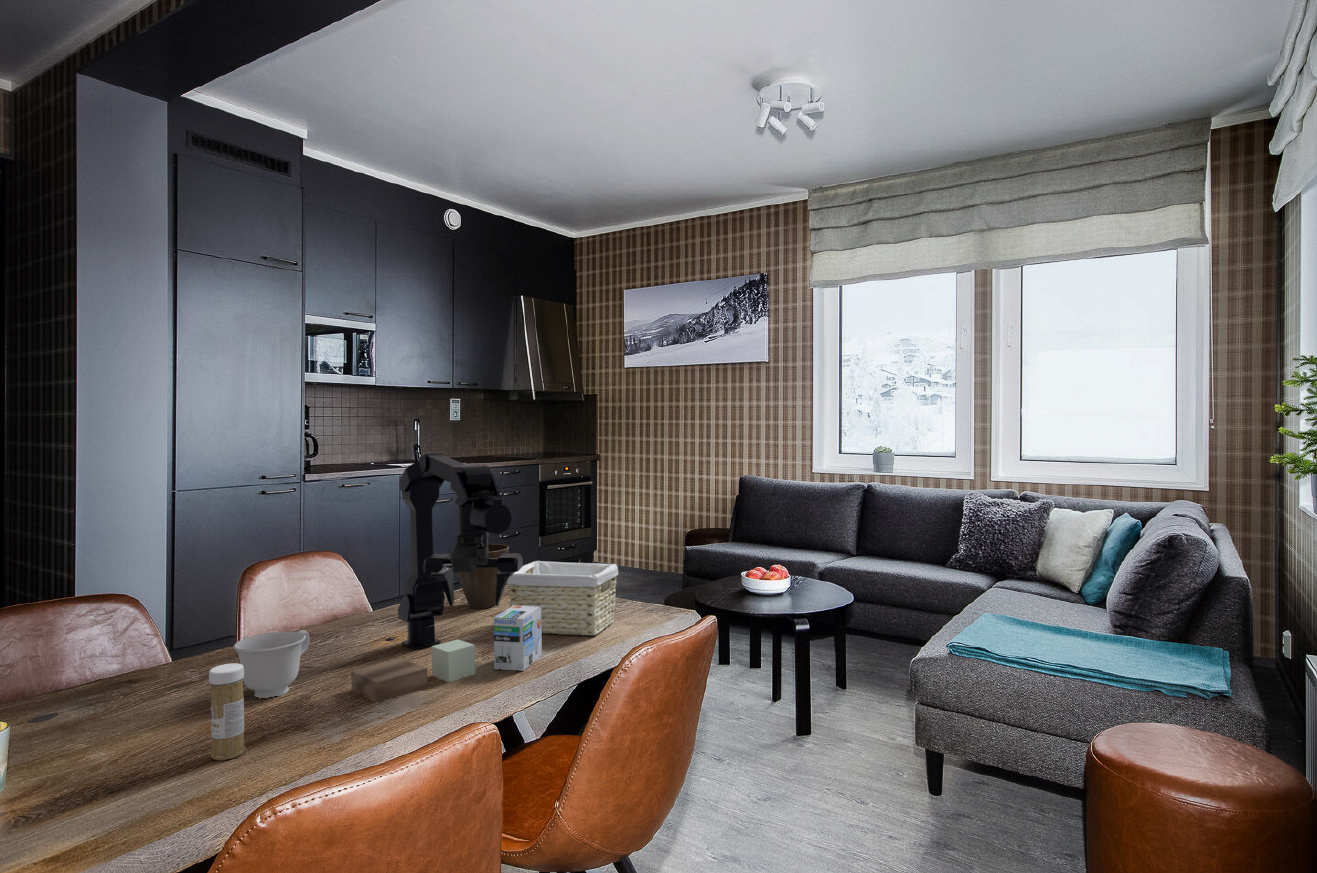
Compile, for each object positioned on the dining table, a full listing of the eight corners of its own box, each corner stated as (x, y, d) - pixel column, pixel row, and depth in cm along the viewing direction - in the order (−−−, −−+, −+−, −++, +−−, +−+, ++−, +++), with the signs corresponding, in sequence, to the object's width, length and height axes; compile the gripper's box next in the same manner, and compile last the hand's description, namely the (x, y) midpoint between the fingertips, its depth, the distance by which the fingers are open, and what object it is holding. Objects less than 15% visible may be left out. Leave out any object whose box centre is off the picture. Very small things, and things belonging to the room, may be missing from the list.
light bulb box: (524, 672, 146) (523, 618, 146) (492, 670, 147) (491, 617, 147) (543, 655, 157) (542, 605, 156) (513, 653, 158) (512, 604, 158)
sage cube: (432, 676, 145) (431, 646, 144) (458, 668, 149) (457, 639, 149) (449, 683, 141) (448, 652, 141) (475, 674, 145) (474, 644, 145)
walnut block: (351, 692, 137) (351, 671, 137) (400, 677, 145) (400, 657, 145) (378, 705, 131) (377, 682, 131) (427, 689, 138) (427, 668, 138)
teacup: (332, 680, 143) (331, 629, 143) (269, 708, 129) (268, 652, 129) (285, 674, 147) (284, 625, 147) (219, 701, 133) (217, 647, 133)
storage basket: (504, 633, 174) (503, 571, 174) (534, 615, 190) (533, 559, 190) (597, 640, 167) (596, 576, 167) (621, 621, 183) (620, 563, 183)
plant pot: (445, 611, 195) (443, 552, 195) (468, 598, 210) (467, 543, 209) (497, 613, 192) (496, 553, 192) (517, 599, 207) (516, 544, 207)
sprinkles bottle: (206, 756, 110) (204, 668, 110) (239, 745, 114) (236, 660, 114) (217, 764, 107) (215, 674, 107) (250, 753, 111) (248, 666, 111)
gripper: (412, 535, 138) (414, 616, 138) (511, 534, 138) (512, 616, 138) (432, 526, 149) (433, 602, 149) (522, 525, 149) (523, 601, 149)
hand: (474, 605), depth 146 cm, fingers open, 9 cm apart
